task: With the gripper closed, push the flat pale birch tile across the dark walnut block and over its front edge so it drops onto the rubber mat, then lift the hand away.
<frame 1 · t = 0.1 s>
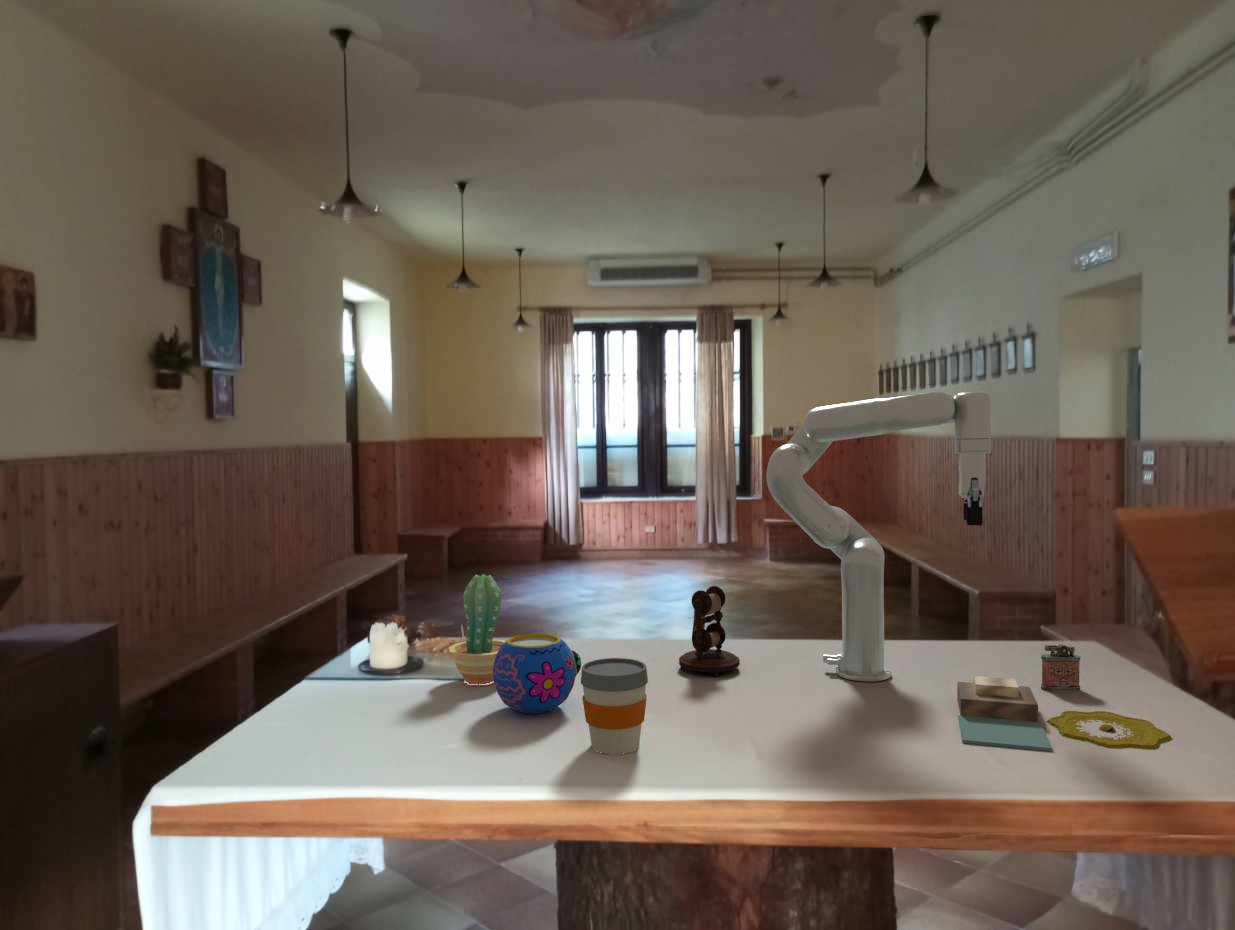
hand: (972, 522, 193), 37 cm above the table, tool pointing down, fingers open, 9 cm apart
reusable coffee cup: (615, 746, 160), on the table
mat: (1002, 733, 163), on the table
tile: (995, 691, 176), point 4 cm above the table, touching deck
deck: (995, 711, 175), on the table
lighter: (1060, 690, 189), on the table
decorative medallion: (1106, 732, 164), on the table
ceramic pot: (535, 710, 182), on the table
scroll: (709, 670, 209), on the table
potted cactus: (482, 680, 204), on the table
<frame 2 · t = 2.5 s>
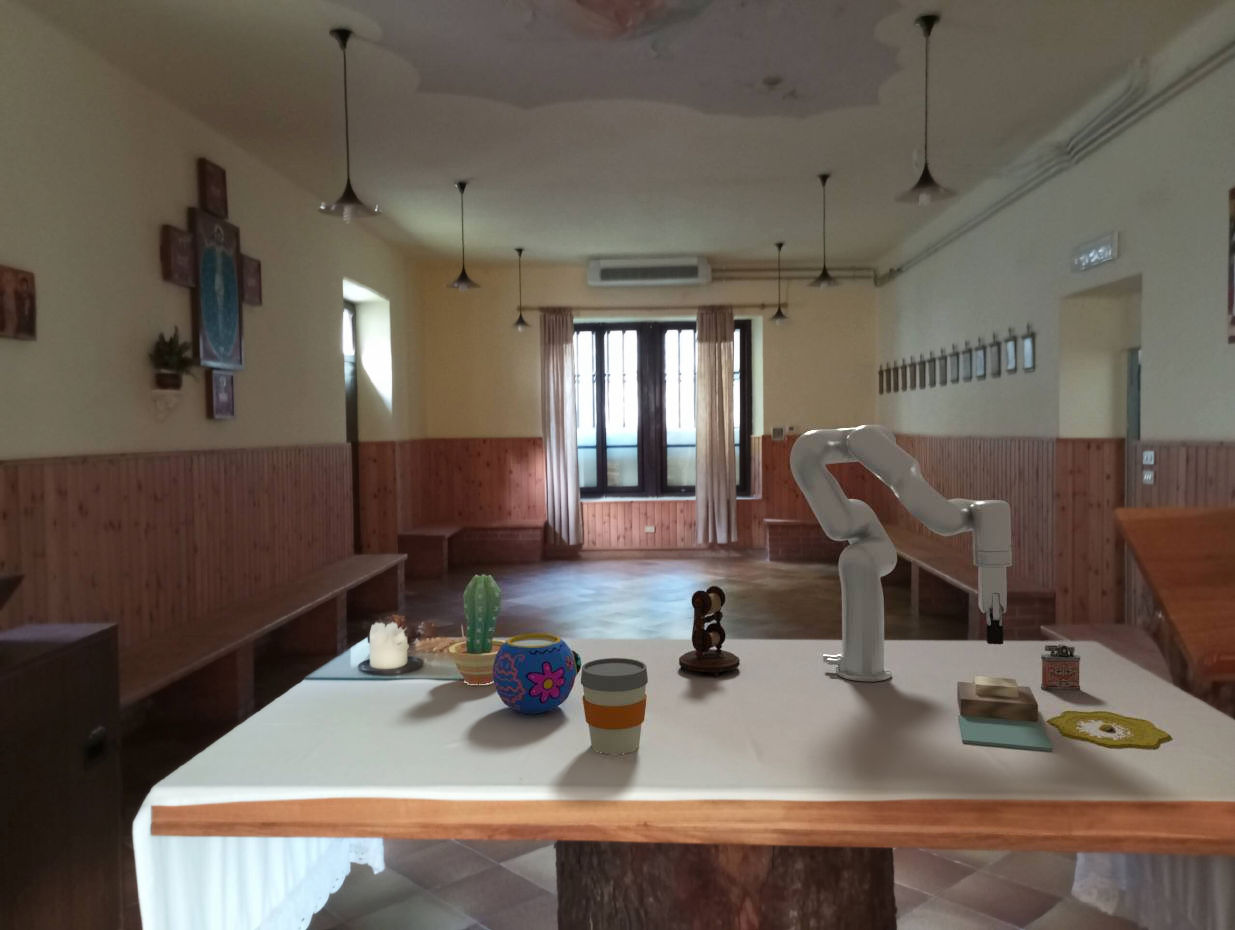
hand: (994, 643, 184), 12 cm above the table, tool pointing down, fingers closed
nothing on the table moved.
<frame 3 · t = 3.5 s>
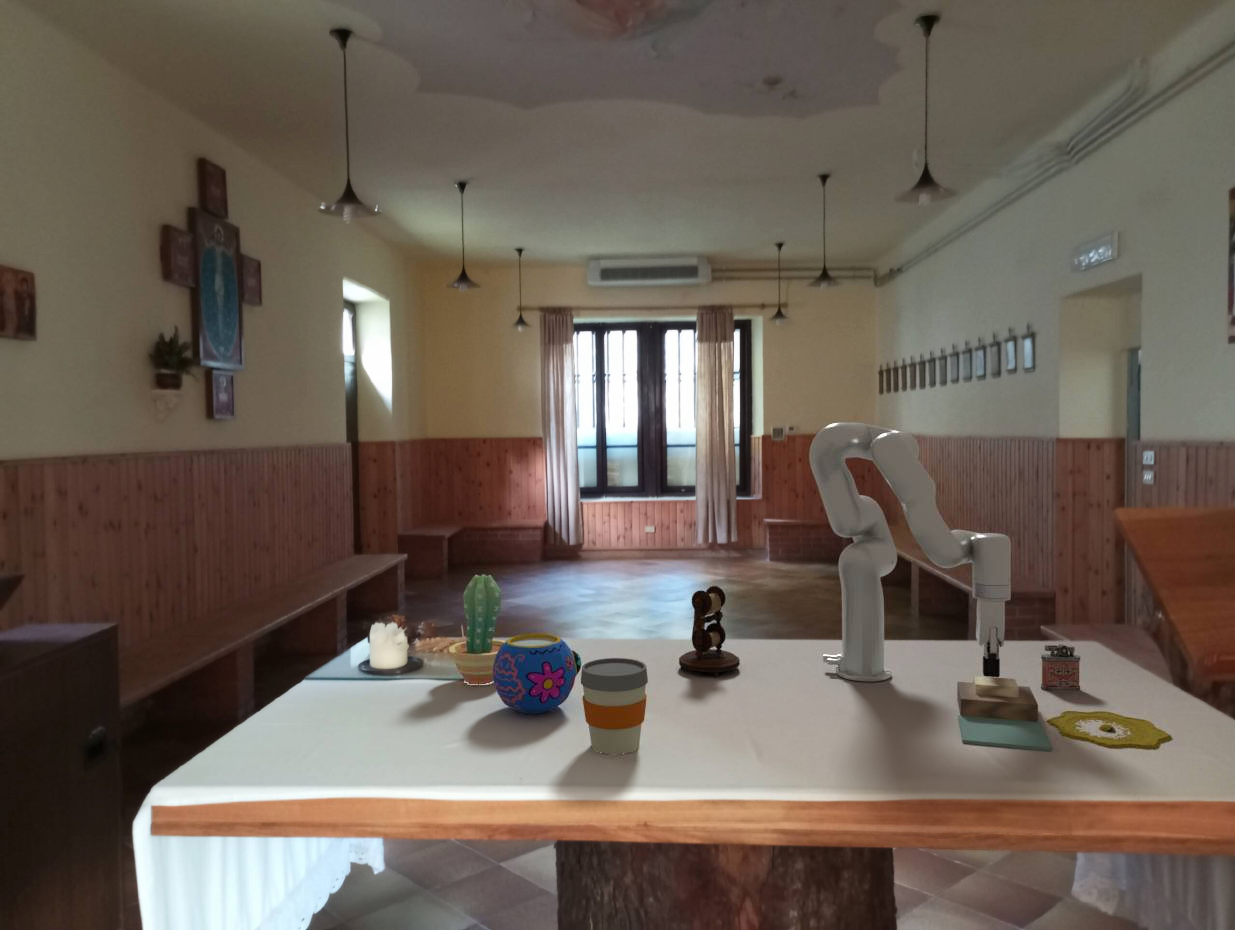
hand: (991, 675, 184), 5 cm above the table, tool pointing down, fingers closed
nothing on the table moved.
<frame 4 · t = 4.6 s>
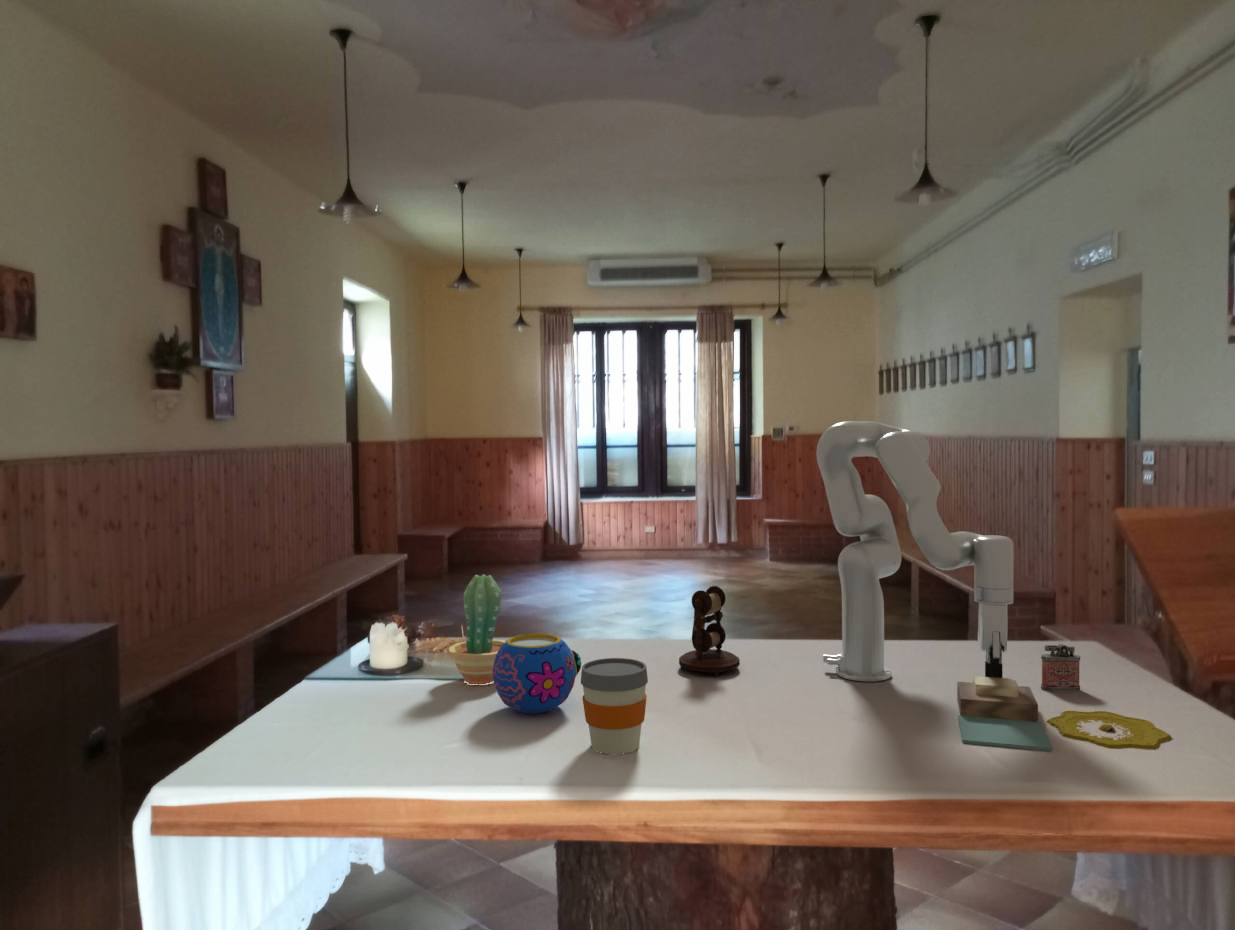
hand: (993, 680, 180), 5 cm above the table, tool pointing down, fingers closed
tile: (995, 691, 176), point 4 cm above the table, touching gripper
everything else where it was.
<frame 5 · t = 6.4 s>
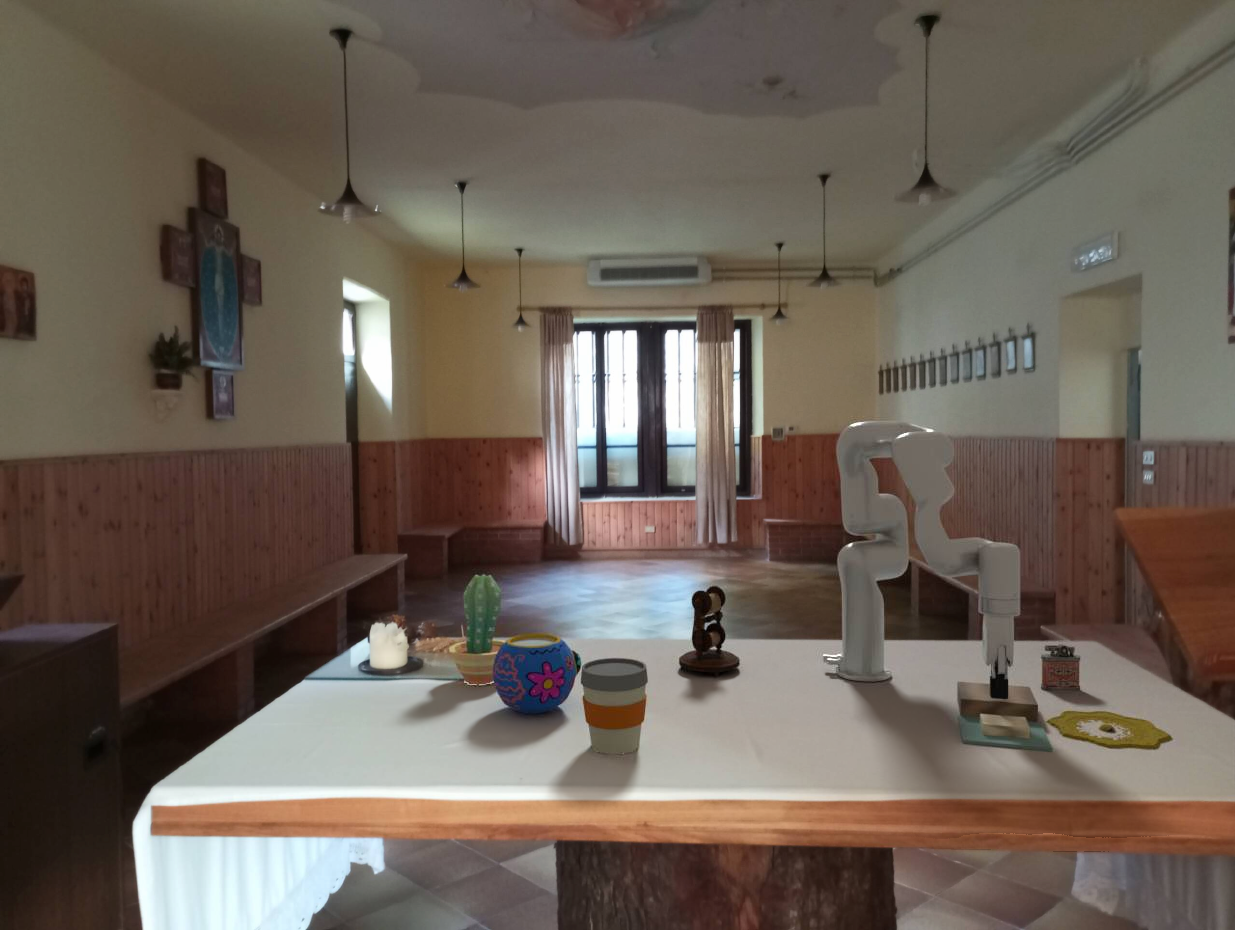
hand: (998, 697, 170), 5 cm above the table, tool pointing down, fingers closed
tile: (1004, 720, 163), point 3 cm above the table, tilted 180°, touching mat
everything else where it was.
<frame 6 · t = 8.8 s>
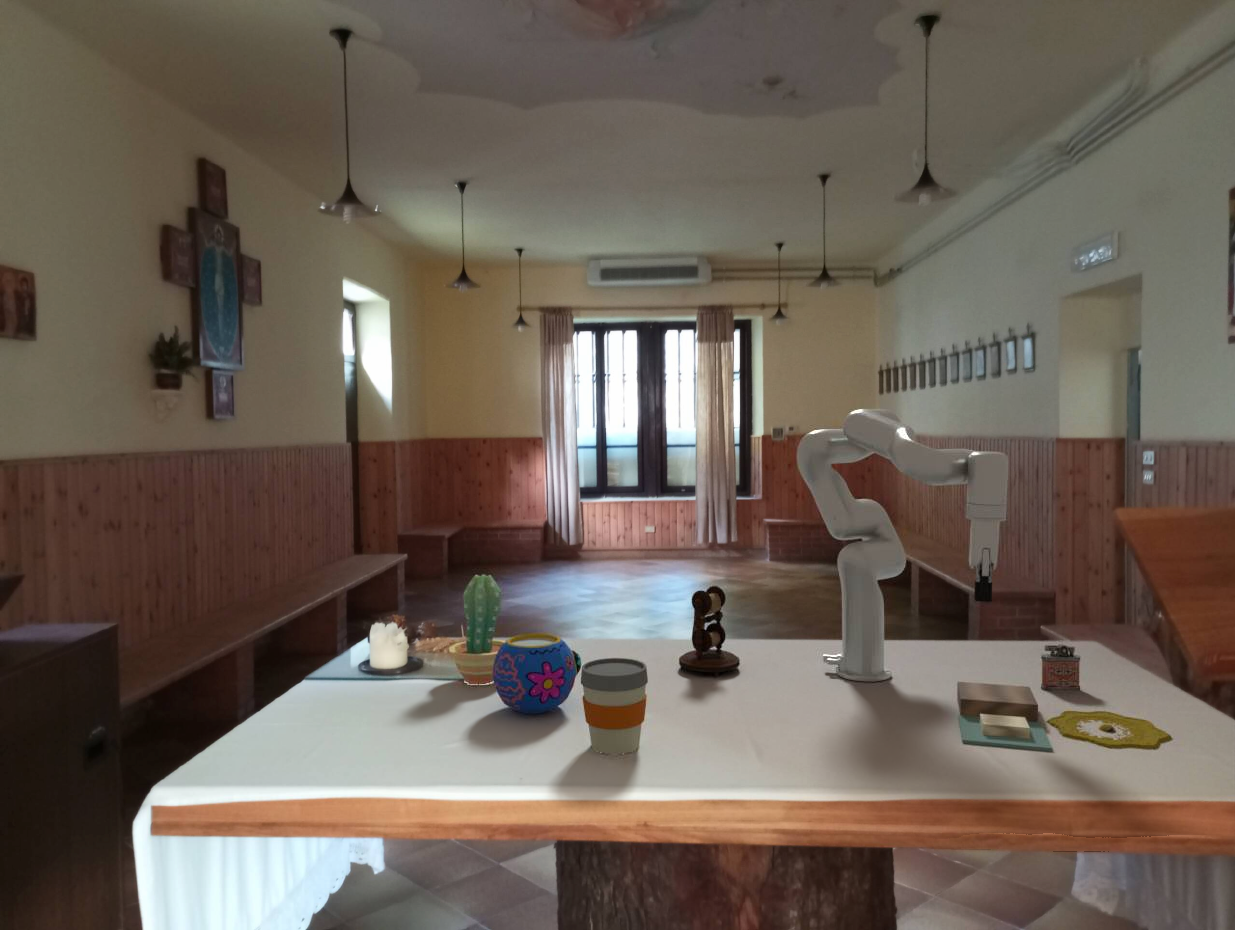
hand: (982, 600, 176), 23 cm above the table, tool pointing down, fingers closed
nothing on the table moved.
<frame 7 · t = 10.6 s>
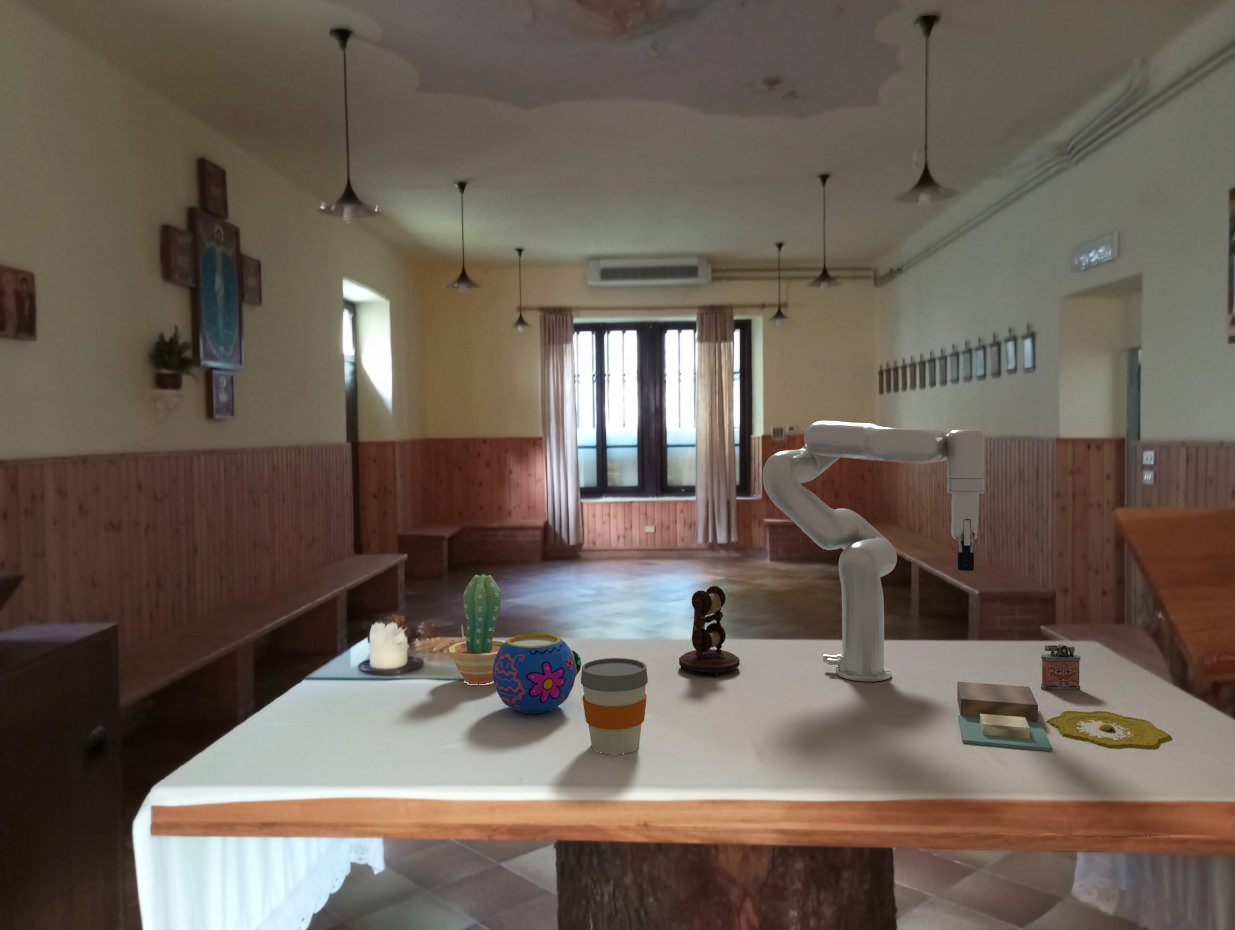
hand: (965, 569, 187), 27 cm above the table, tool pointing down, fingers closed
nothing on the table moved.
at the end: tile point 2.6 cm above the table; tile inside the target area (0.3 cm from its centre), point 2.6 cm above the table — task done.
